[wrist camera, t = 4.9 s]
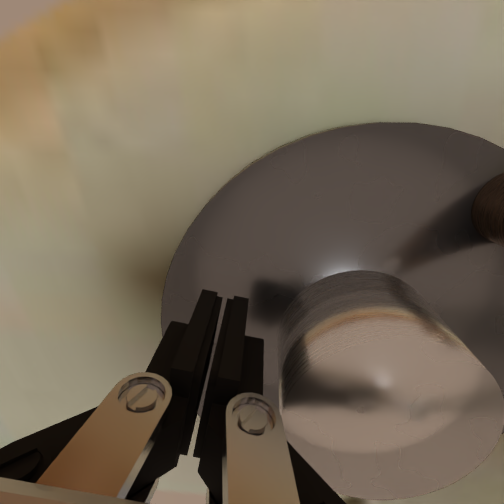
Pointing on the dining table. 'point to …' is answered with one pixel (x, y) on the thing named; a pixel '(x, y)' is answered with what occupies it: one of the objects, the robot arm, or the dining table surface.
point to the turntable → (354, 232)
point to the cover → (382, 389)
